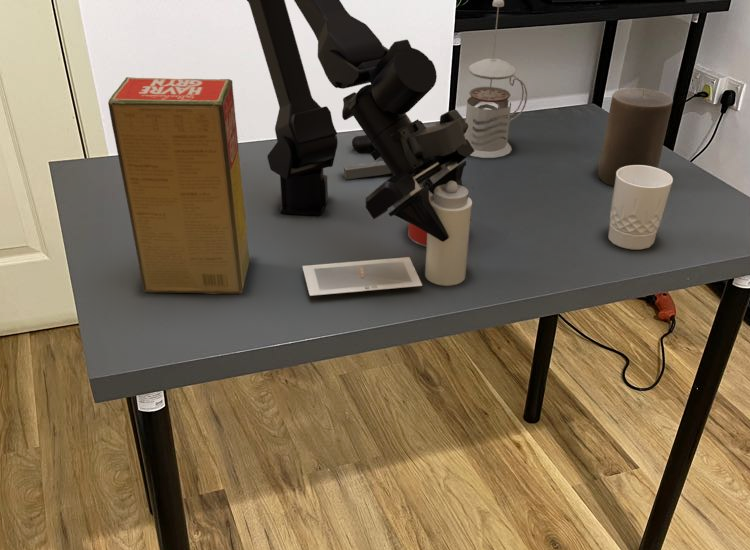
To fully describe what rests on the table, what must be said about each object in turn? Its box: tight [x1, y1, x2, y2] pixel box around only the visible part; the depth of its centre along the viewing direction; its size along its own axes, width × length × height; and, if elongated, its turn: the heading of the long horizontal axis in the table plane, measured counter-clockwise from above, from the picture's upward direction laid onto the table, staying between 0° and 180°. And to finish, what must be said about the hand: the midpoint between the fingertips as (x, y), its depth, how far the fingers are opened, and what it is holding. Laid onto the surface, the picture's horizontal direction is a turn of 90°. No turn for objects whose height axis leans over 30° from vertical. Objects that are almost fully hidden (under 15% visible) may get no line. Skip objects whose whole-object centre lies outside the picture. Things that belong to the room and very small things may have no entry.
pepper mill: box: [424, 181, 473, 287], centre depth 110 cm, size 6×6×14 cm
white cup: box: [607, 165, 674, 251], centre depth 121 cm, size 8×8×10 cm
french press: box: [464, 0, 528, 159], centre depth 143 cm, size 10×12×25 cm
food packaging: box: [107, 77, 251, 295], centre depth 105 cm, size 13×9×25 cm
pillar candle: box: [597, 87, 674, 187], centre depth 137 cm, size 10×10×15 cm
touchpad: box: [301, 256, 423, 297], centre depth 111 cm, size 8×15×2 cm, turn 102°
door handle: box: [343, 134, 433, 185], centre depth 142 cm, size 3×20×16 cm
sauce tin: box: [407, 193, 433, 248], centre depth 122 cm, size 8×8×5 cm
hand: (457, 231), depth 109 cm, fingers closed on pepper mill, 5 cm apart
